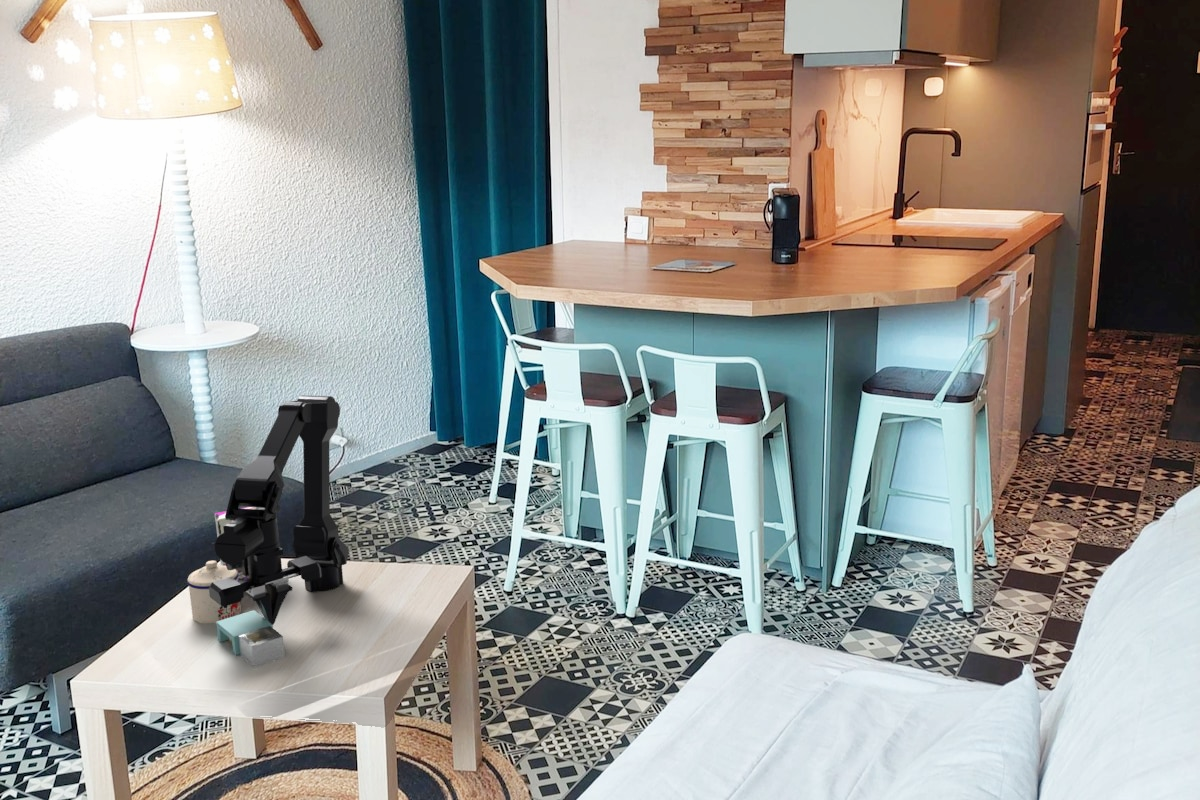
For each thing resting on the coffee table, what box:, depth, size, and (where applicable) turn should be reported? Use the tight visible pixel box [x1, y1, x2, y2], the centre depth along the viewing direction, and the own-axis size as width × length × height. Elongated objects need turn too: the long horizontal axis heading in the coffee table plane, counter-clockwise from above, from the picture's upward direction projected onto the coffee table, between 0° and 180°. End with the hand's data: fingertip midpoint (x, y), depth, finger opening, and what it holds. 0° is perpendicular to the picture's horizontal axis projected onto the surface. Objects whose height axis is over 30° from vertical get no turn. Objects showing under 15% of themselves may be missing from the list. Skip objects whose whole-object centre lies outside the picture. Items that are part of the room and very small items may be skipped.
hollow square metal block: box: [238, 626, 286, 669], centre depth 188 cm, size 6×6×4 cm
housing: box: [215, 609, 274, 656], centre depth 194 cm, size 7×8×4 cm
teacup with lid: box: [186, 560, 242, 624], centre depth 206 cm, size 12×9×12 cm
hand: (270, 624), depth 197 cm, fingers closed
